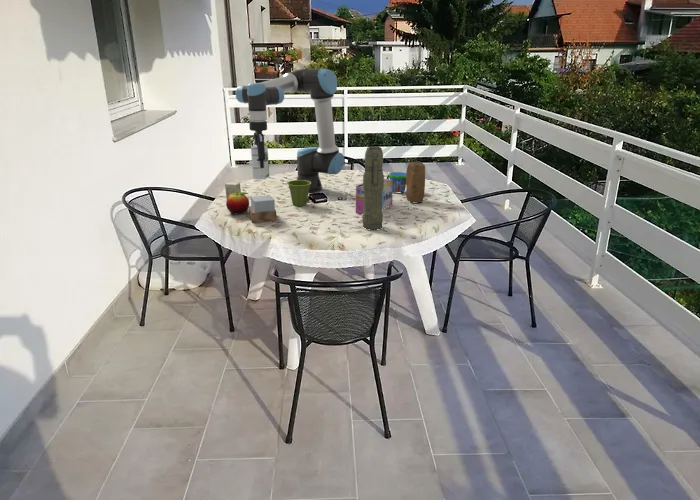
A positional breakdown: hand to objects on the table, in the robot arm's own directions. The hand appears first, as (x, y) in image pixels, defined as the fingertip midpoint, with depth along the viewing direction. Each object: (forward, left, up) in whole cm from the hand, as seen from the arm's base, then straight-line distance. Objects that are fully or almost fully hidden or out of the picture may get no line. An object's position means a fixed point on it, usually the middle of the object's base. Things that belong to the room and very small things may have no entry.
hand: (260, 173), depth 233 cm
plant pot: (-21, -19, -21) cm, 35 cm away
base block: (0, 0, -22) cm, 22 cm away
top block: (0, 0, -17) cm, 17 cm away
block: (-79, -9, -21) cm, 82 cm away
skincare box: (+11, -22, -21) cm, 33 cm away
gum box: (-54, -1, -21) cm, 58 cm away
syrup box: (0, 0, -2) cm, 2 cm away
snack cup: (-78, -29, -21) cm, 86 cm away
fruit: (+10, -13, -21) cm, 27 cm away
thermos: (-44, +26, -21) cm, 55 cm away
